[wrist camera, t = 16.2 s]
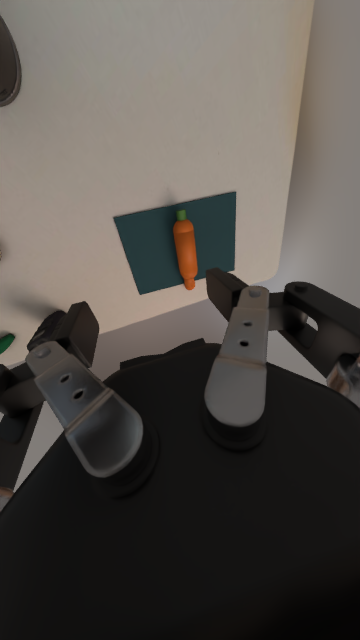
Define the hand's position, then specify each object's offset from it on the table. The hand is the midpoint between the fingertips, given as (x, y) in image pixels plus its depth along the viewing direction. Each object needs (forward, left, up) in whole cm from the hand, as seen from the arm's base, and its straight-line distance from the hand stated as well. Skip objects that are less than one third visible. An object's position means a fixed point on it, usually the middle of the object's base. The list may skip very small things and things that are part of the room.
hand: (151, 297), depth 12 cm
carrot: (+5, +9, -28) cm, 30 cm away
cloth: (+5, +9, -28) cm, 30 cm away
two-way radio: (+14, -22, -28) cm, 38 cm away
